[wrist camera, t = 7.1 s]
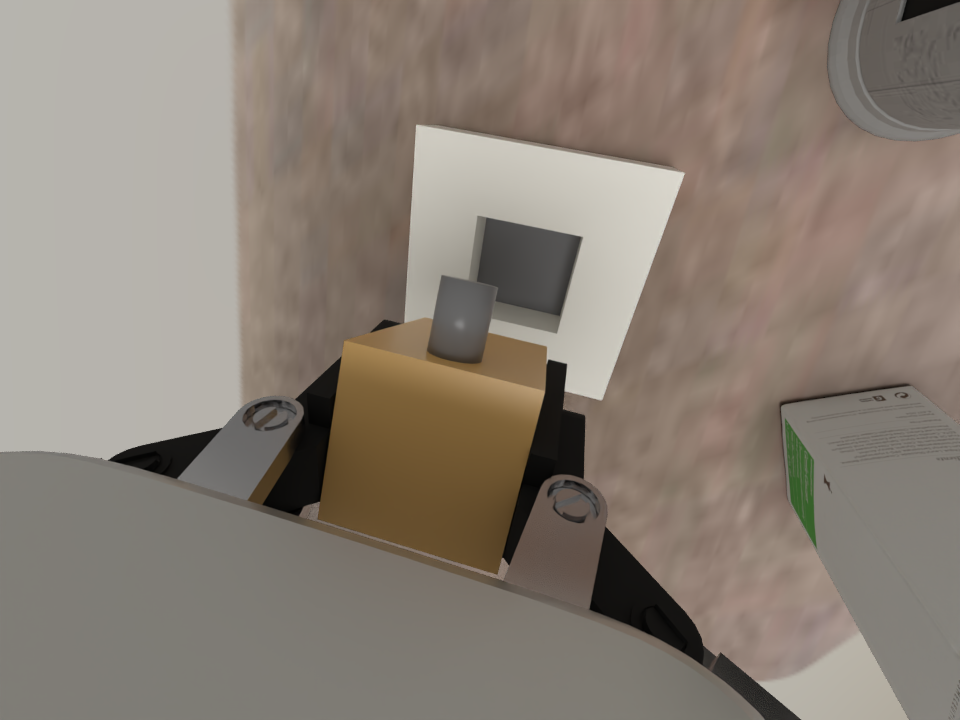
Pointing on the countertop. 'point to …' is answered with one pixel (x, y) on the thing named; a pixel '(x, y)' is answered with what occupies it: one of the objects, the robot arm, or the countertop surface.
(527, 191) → the socket
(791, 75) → the countertop surface
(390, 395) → the plug
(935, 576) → the skincare box
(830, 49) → the glass holder
